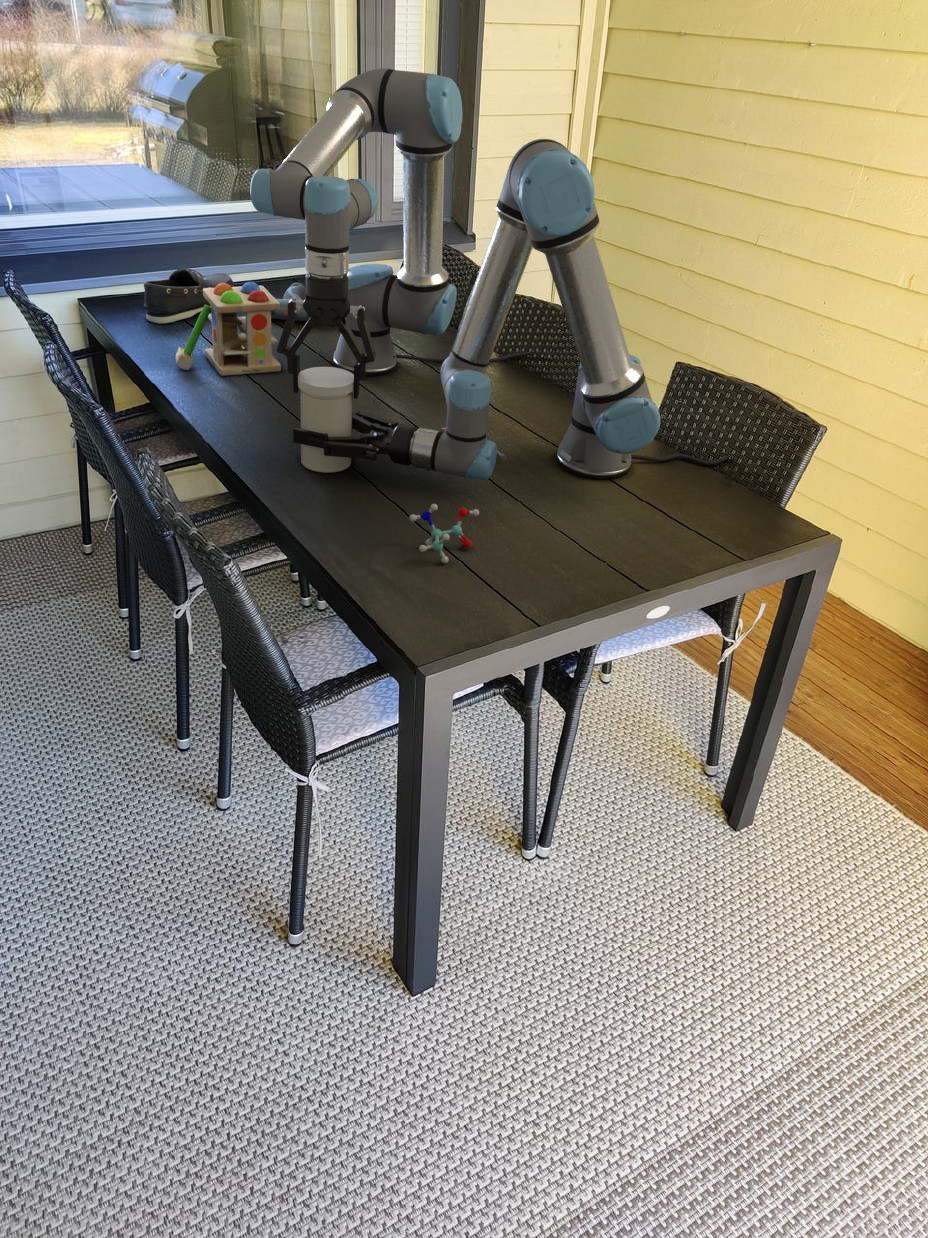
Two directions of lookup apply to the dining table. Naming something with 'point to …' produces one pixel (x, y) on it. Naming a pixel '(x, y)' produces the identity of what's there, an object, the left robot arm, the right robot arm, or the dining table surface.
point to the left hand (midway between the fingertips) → (326, 393)
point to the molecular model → (437, 533)
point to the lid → (326, 381)
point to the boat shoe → (179, 295)
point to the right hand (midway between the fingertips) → (305, 425)
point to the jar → (325, 428)
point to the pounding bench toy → (229, 347)
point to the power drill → (294, 292)
